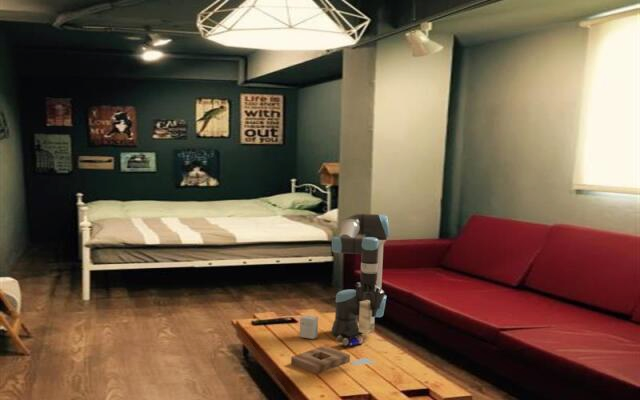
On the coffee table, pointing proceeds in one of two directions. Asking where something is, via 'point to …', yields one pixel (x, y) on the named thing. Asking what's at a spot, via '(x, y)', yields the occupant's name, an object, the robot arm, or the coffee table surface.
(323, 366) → the pocket board
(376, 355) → the coffee table surface
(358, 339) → the toy car
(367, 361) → the pad
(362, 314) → the beech block
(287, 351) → the coffee table surface
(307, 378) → the coffee table surface
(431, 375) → the coffee table surface
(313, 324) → the small box
